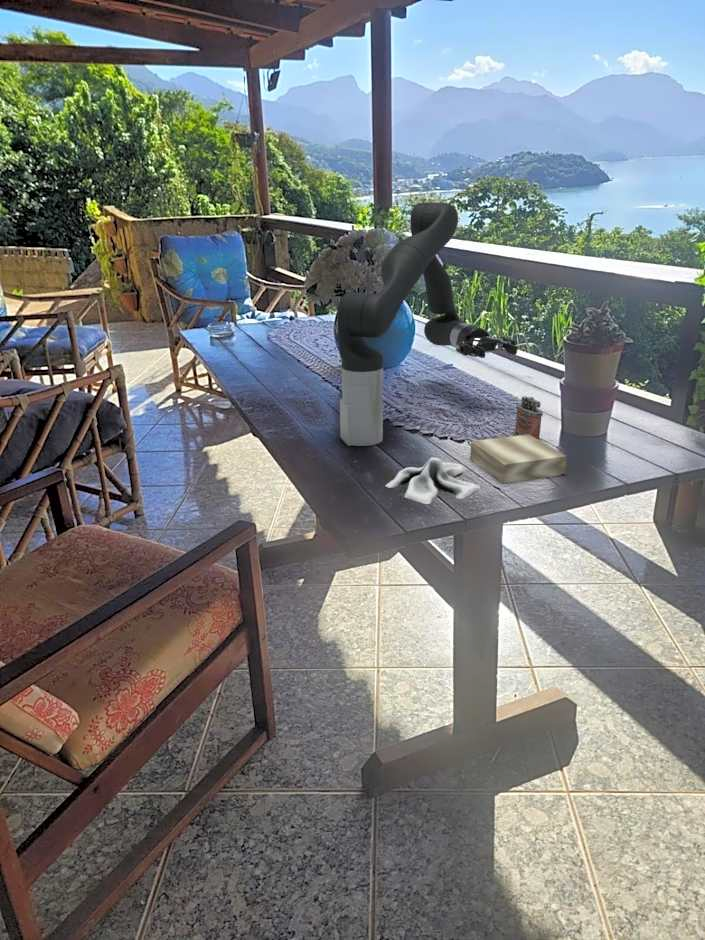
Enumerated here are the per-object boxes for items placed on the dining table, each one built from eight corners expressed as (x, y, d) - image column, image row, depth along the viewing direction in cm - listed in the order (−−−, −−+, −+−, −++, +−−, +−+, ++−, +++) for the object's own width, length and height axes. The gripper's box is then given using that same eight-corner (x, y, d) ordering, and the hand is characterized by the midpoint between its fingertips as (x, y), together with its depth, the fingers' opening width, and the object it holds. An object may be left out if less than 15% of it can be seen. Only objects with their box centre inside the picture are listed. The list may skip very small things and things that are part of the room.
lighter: (510, 435, 157) (514, 394, 153) (522, 433, 158) (526, 392, 154) (530, 446, 150) (534, 403, 146) (543, 444, 151) (547, 401, 147)
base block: (502, 483, 130) (504, 464, 129) (470, 458, 143) (471, 441, 141) (564, 474, 134) (566, 456, 133) (527, 451, 147) (529, 434, 145)
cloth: (455, 462, 143) (456, 435, 140) (500, 496, 127) (502, 466, 124) (357, 476, 136) (357, 448, 134) (391, 514, 120) (392, 482, 118)
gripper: (445, 327, 172) (474, 339, 157) (494, 323, 176) (527, 334, 161) (444, 355, 175) (472, 370, 160) (492, 351, 179) (524, 364, 164)
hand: (499, 352), depth 161 cm, fingers open, 8 cm apart
